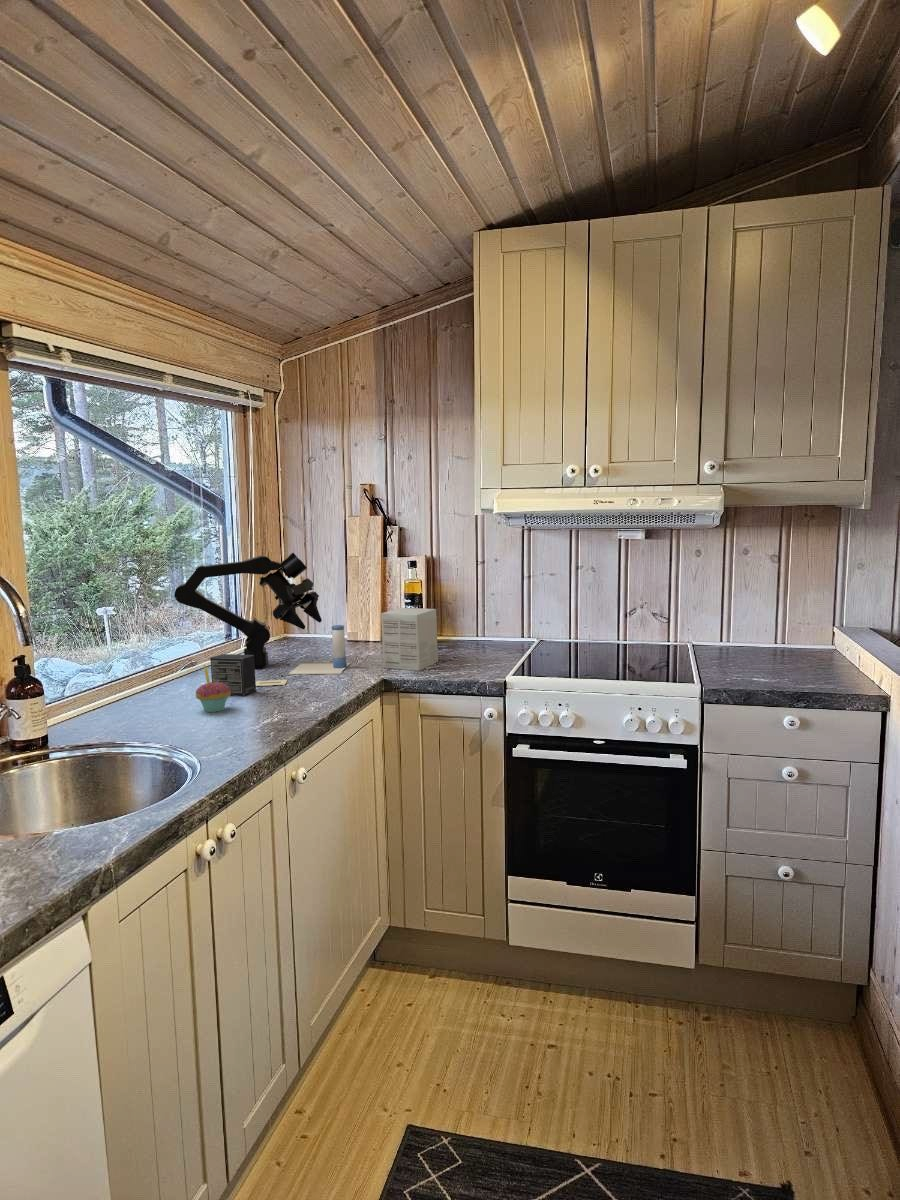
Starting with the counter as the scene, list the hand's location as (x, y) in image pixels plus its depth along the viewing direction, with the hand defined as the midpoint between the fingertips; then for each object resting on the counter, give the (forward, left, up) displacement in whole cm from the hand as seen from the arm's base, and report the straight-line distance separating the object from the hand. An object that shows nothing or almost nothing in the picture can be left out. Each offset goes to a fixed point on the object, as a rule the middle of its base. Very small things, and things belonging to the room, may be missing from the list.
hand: (312, 625), depth 247 cm
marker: (+9, -3, -13) cm, 16 cm away
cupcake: (-13, -52, -14) cm, 55 cm away
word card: (-7, -24, -14) cm, 28 cm away
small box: (-14, -34, -14) cm, 39 cm away
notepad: (+3, -4, -14) cm, 14 cm away
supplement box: (+31, 0, -14) cm, 34 cm away
